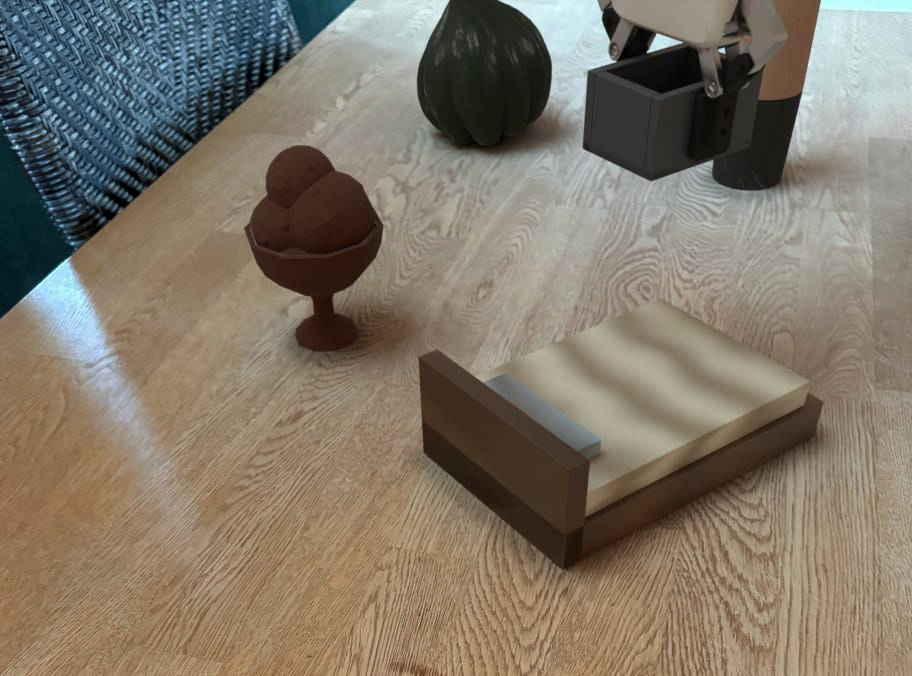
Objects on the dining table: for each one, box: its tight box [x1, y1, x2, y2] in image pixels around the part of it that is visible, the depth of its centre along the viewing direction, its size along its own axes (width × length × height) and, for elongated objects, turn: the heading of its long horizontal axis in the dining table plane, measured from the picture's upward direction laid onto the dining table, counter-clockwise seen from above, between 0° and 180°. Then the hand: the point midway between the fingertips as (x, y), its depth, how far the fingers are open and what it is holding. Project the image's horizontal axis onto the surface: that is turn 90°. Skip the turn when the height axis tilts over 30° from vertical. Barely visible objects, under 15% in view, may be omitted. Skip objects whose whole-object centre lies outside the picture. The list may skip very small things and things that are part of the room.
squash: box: [416, 0, 553, 147], centre depth 113 cm, size 14×15×15 cm
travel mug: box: [711, 0, 822, 191], centre depth 99 cm, size 8×8×20 cm
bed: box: [418, 298, 825, 570], centre depth 72 cm, size 24×16×8 cm, turn 125°
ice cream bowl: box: [243, 144, 385, 352], centre depth 82 cm, size 11×11×15 cm
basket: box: [582, 42, 764, 182], centre depth 68 cm, size 9×7×5 cm
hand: (667, 135), depth 69 cm, fingers closed on basket, 7 cm apart
